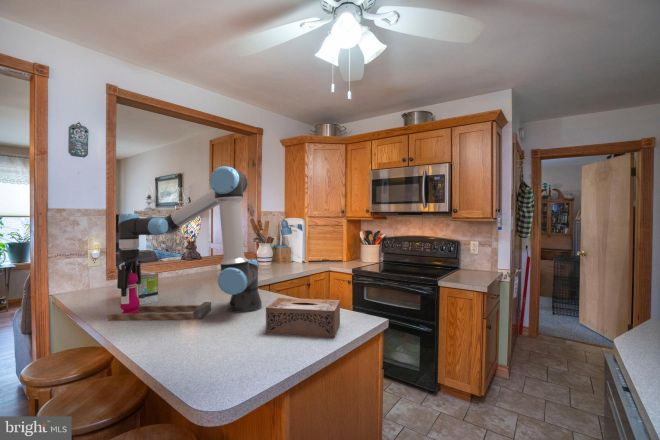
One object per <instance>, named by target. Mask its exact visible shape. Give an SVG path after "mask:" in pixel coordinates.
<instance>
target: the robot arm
mask: <svg viewBox="0 0 660 440" xmlns="http://www.w3.org/2000/svg"><path fill="white" fill-rule="evenodd" d="M209 185H210V188H211V189H210V190H208V191H207V192H206V193H203V194H202V195H201V196H199V197H197V198H195V199H194V200H192V201H190V202H189V203H186V204H185V205H184V206H182V207H180V208H178V209H177V210H175V211H172V213H170V214H168V215H167V216H165V217H140V216H139V214H138V213H120V214H119V215H118V223H117V226H118V248H119V250H118V258H119V259H121V263H120V264H117V265H116V268H117V281H116V282H117V283H116V284H117V288H116V289H119V290H120V298H121V299H120V300H121V301H120V305H121V304H129V288H127V287H128V281H129V275H130V273H131V271H132V273H135V274H136V275H137V277H138V280H137V282H136V286H137V287H136V288H135V291H136V295H137V297H138V284H141V271H142V270H141V265H142V264H141V263H142V261H141V260H138V259H137V258H139V257H140V236H163V235H165V234H173V233H177V232H178V231H179V230H180V228H182V227H183V226H185V225H186V224H188V223H190V222H192V221H193V220H194V219H196V218H198V217H200V216H202V215H204V214H206V213H207V212H209V211H210V210H213V208H215V207H217V206H219V215H220V216H219V217H220V228H221V240H222V242H221V243H222V253H223V259H222V260H221V262H220V273H219V275H218V277H217V283H218V287H219V289H220V290H221V291H222V292H224V294H227V295H231V297H230V300H229V303H228V310H229V311H231V312H234V313H247V312H248V313H249V312H254V311H257V310H260V309H262V306H263V304H262V303H263V302H262V298H261V296H260V293H259V270H258V269H259V262H258V260H257V259H248V258H246V256H245V248H244V236H243V233H244V232H243V221H242V213H241V212H242V211H241V201H242V200H244V193H245V192H246V190H247V189H248V179H247V176H246V175H245V174H244V173H243V172H242V171H240V170H237V169H235V168H233V167H231V166H226V165H225V166H224V165H223V166H219V167H216V168H215V169H214V170H213V171H212V173H211V174H210V176H209Z"/></svg>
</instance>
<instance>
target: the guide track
mask: <svg viewBox="0 0 660 440" xmlns="http://www.w3.org/2000/svg"><path fill="white" fill-rule="evenodd" d="M137 309H138V310H139V313H131V314H122V313H110V314H109V313H108V315H107V321H108V322H115V321H118V322H120V321H123V322H124V321H127V322H128V321H181V320H182V321H185V320H186V321H187V320H188V321H189V320H190V321H191V320H193V321H194V320H199V321H200V320H202V319H204V318H205V316H207V315H208V314H209V313H210V312H211V311H212V301H204V302H202V303H201V304H191V305H190V304H188V305H187V304H184V305H183V304H182V305H180V304H177V305H173V304H172V305H140V306H139V307H138V308H137Z"/></svg>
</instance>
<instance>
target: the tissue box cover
mask: <svg viewBox="0 0 660 440" xmlns="http://www.w3.org/2000/svg"><path fill="white" fill-rule="evenodd" d="M339 325H340V326H341V300H339V299H337V300H336V299H318V298H317V299H316V298H315V299H314V298H293V297H292V298H291V297H277V298H276V299H275V300H273V301H272V302H271V303H270V304H269V305H267V306H266V307H265V334H266V335H276V336H277V335H278V336H279V335H281V336H292V337H293V336H295V337H309V338H310V337H312V338H327V339H328V338H329V339H330V338H331V339H335V338H336V335H337V333H338V330H339V328H340V326H339Z"/></svg>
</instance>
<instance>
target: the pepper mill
mask: <svg viewBox="0 0 660 440" xmlns="http://www.w3.org/2000/svg"><path fill="white" fill-rule="evenodd" d="M137 280H138V277H137V275H136V274H135V273H132V271H131V273H130V275H129V281H128V287H127V288H129V304H121V303H120V305H119V307H120V309H121V310H122V311H121V314H131V313H140V312H139V310H138V309H137V308H138V307H139V306H141V305H140V301H139V299H138V297H137V295H136V291H135V288H136V287H137V286H136V282H137Z"/></svg>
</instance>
